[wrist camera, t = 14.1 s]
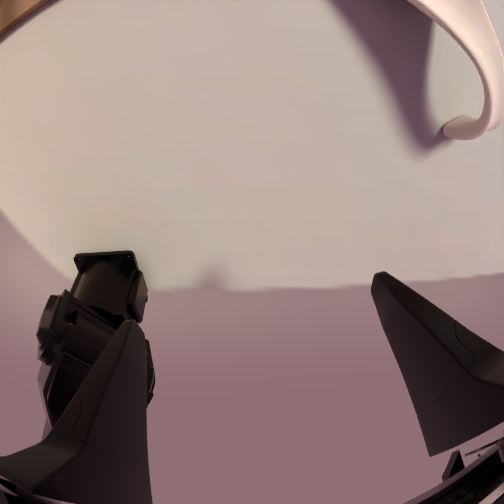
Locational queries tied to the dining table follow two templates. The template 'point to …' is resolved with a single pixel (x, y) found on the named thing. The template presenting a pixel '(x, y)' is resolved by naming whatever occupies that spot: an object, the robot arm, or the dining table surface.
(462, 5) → the spoon rest
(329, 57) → the dining table surface
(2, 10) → the serving board
